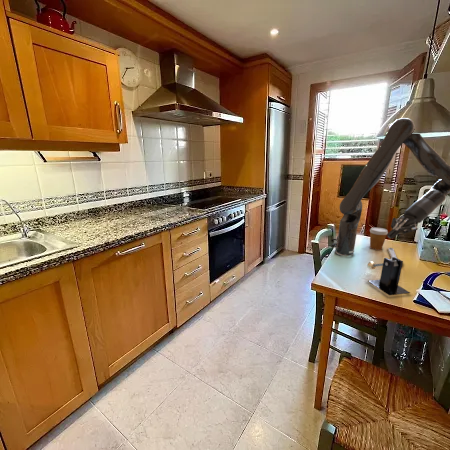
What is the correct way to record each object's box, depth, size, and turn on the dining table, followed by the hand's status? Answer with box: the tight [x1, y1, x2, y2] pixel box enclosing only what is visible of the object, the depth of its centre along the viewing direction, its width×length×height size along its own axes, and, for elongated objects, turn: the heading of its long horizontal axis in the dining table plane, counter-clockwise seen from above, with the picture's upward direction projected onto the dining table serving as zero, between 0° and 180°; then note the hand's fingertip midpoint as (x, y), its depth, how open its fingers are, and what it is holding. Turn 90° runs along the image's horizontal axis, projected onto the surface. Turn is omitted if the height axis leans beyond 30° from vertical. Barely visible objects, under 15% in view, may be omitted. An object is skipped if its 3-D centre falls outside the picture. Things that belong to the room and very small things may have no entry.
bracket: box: [368, 257, 411, 296], centre depth 103 cm, size 12×10×14 cm
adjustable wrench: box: [387, 247, 404, 266], centre depth 136 cm, size 25×6×2 cm, turn 148°
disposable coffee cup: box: [369, 227, 389, 251], centre depth 149 cm, size 10×10×12 cm
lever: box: [367, 260, 398, 271], centre depth 108 cm, size 15×4×4 cm, turn 10°
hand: (389, 237), depth 110 cm, fingers closed
